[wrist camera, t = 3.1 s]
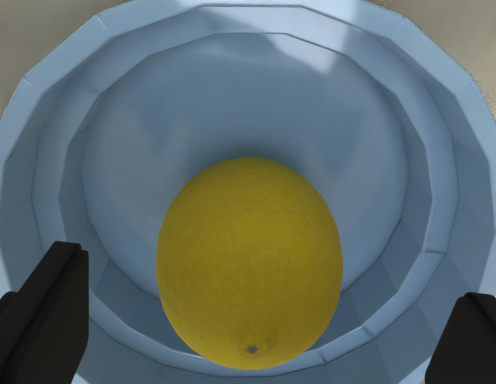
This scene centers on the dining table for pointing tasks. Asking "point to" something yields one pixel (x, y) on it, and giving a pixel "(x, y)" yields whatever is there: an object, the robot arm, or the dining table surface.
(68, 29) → the dining table surface
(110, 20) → the bowl
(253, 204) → the lemon
